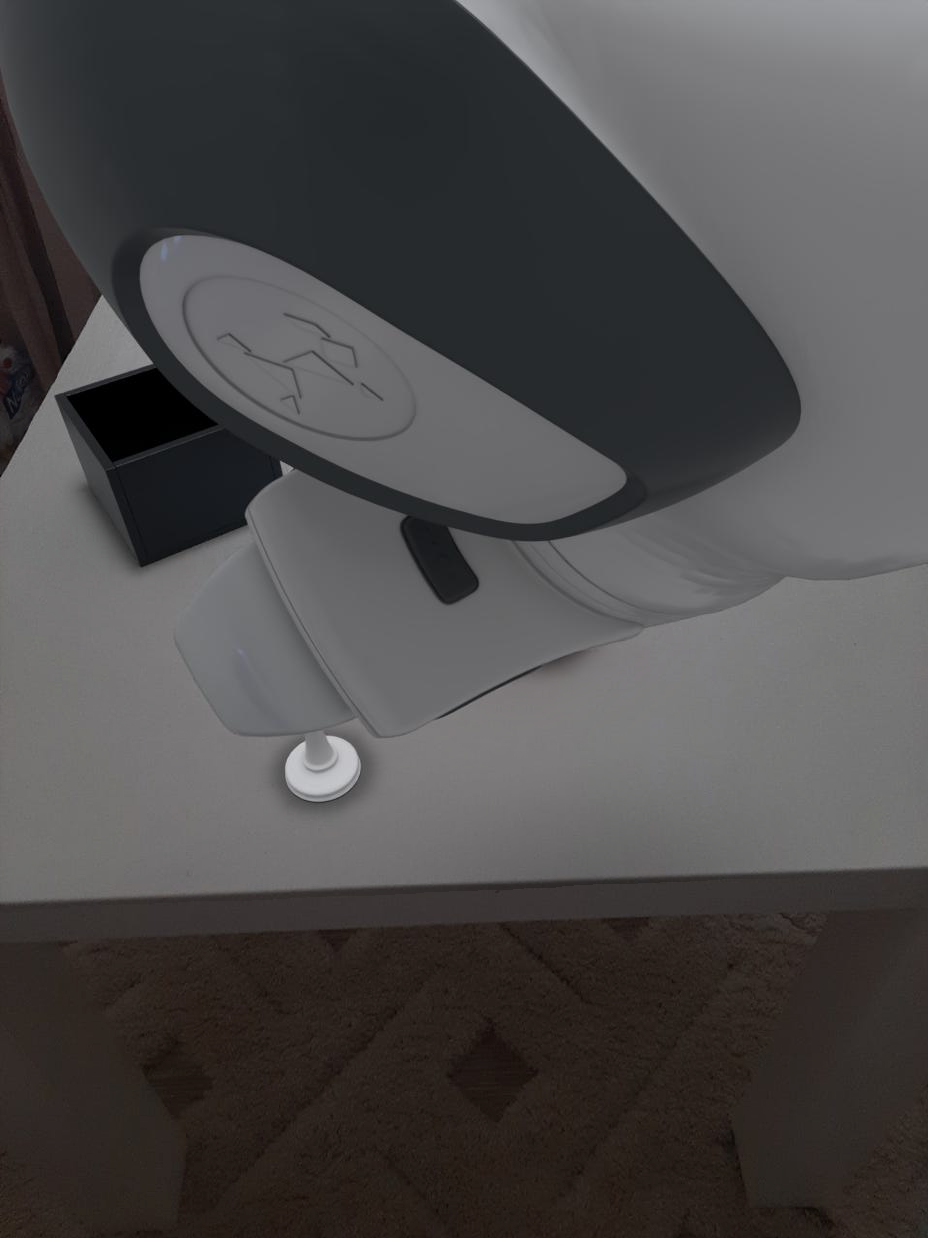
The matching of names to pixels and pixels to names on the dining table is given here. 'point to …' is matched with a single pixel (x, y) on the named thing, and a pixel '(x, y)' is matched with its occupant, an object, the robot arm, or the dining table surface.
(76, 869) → the dining table surface
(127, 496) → the waste bin
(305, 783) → the chess piece
